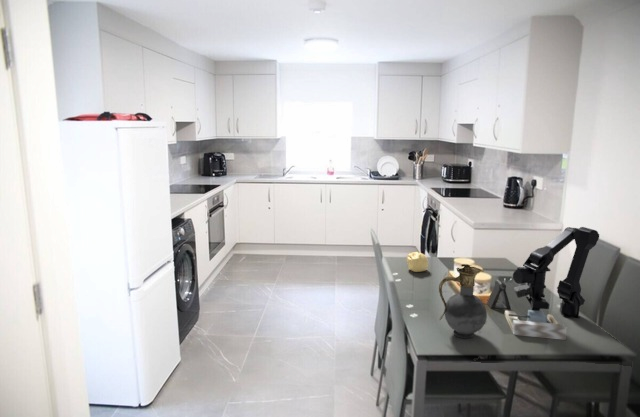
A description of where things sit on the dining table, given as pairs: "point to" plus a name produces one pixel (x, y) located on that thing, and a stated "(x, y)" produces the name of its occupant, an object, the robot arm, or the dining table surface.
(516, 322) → the beige grey patterned tray
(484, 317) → the pitcher
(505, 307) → the phone stand
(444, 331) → the dining table surface
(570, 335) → the dining table surface
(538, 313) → the pale blue mallet
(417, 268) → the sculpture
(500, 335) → the dining table surface
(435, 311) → the dining table surface
